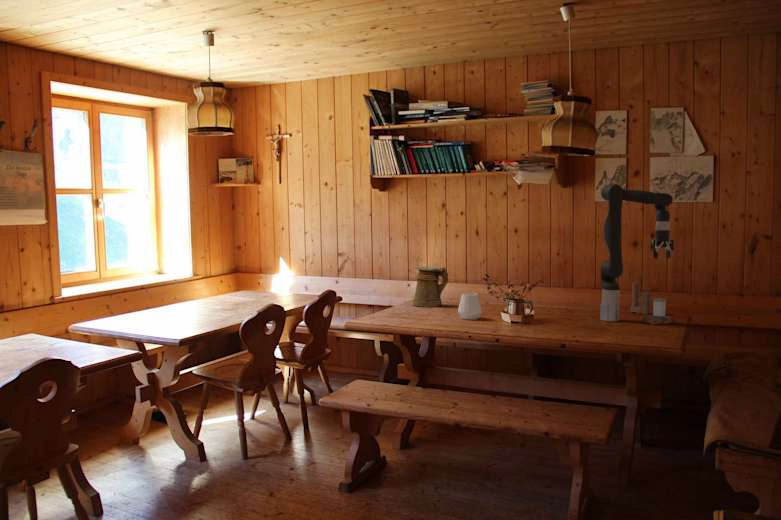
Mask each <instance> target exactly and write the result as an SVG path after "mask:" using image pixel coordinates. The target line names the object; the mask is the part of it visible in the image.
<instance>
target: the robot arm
mask: <svg viewBox="0 0 781 520" xmlns="http://www.w3.org/2000/svg"><path fill="white" fill-rule="evenodd" d="M600 196H601V198H602V199H603V200H604V201H607V202H608V211H607V215H606V218H605V221H604V226H603V238H604V241H605V244H606V246H607V249H608V252H609V259H608V260H605V261H603V262H602V263H601V266H600V284H601V287H602V290H601V291H602V292H601V297H602V298H601V302H600V304H599V305H600V309H599V312H600V313H599V319H600V321H603V322H619V321H620V294H621V293H620V289H621V286H620V284H619V283H618V282H617V280H616V279H617V278H620V277H621V276H622V274H623V271H624V264H623V263H624V262H623V254H622V253H623V251H622V250H623V249H622V233H623V232H622V228H623V227H622V210H623V201H624V202H632V203H637V204H642V205H643V204H644V205H654V210H655V214H656V215H655V220H656V221H655V231H654V232H655V233H654V235H655V236H654V237H655V240H654V239H651V240H650V246H649V247H650V252H651V251H652V252H653V256H652V257H653V259H658V257H659V255H658V252H659V250H660V249H661V248H664V249H665V251H666V253H665V258H666V259H670V258H671V252H672V251H674V250H675V247H674V246H675V241H674V239H670V236H671V235H670V234H671V224H670V223H671V222H670V218H671V217H670V216H671V215H670V211H669V210H667V207H668V206H671V205H672V203H673V202H674V198H673V196H672V195H671V194H669V193H665V192H654V191H647V190H639V189H625V188H623V187H622V186H621V185H620V184H617V183H612V184H611V183H610V184H606V185H605V186H603V187H602V188H601V191H600Z"/></svg>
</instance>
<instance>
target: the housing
mask: <svg viewBox="0 0 781 520" xmlns="http://www.w3.org/2000/svg"><path fill="white" fill-rule="evenodd" d="M652 302H653V309H652V314H653V315H652V317H654V318H666V316H667V315H666V303H667V299H666V298H661V297H660V298H659V297H656V298H652Z"/></svg>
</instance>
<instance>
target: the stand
mask: <svg viewBox="0 0 781 520" xmlns="http://www.w3.org/2000/svg"><path fill="white" fill-rule="evenodd" d="M665 316H666V318H654V317H652V316H644V317H642V323H643V322H646V323H645V324H647V323H650V324H649V325H652V324H661V325H669V324H668V323H674V324H676V318H674V317H672V316H667V315H665Z"/></svg>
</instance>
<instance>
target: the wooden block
mask: <svg viewBox="0 0 781 520" xmlns="http://www.w3.org/2000/svg"><path fill="white" fill-rule="evenodd" d="M631 286H632V291H631V294H632V295H631V306H630V313H631V312H636V313H635V314H639V313H644V314H643V315H646V314H648V315H650V314H651V298H652V297H651V294H652V293H651V290H646V291H645V292H644V293H643V294H642V295H641V296H640V295H639V291H640V282H632V285H631ZM639 296H640V297H639ZM639 302H640V303H641V306H639ZM649 313H650V314H649Z"/></svg>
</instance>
